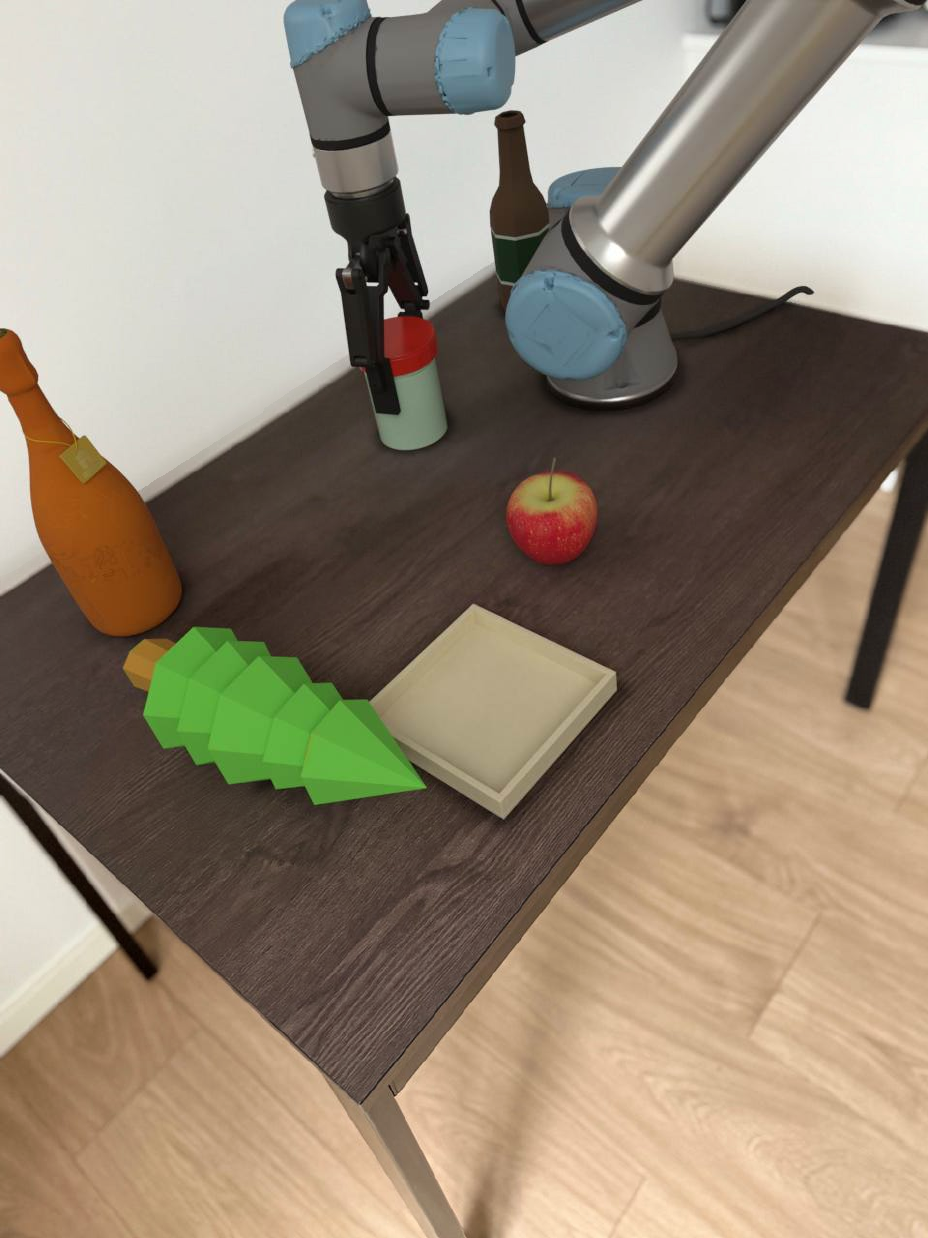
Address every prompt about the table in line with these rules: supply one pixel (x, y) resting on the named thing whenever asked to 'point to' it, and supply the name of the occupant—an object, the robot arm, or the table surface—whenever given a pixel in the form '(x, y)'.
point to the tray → (491, 707)
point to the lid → (408, 344)
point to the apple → (552, 516)
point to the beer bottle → (515, 206)
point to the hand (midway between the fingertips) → (404, 388)
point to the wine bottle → (88, 513)
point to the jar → (414, 411)
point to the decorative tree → (265, 718)
